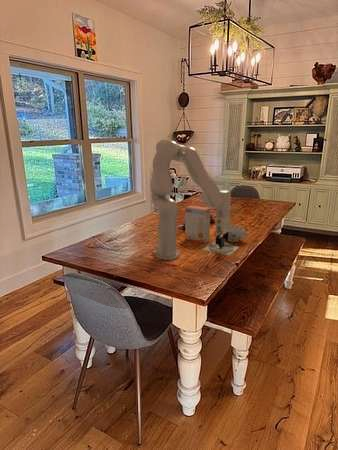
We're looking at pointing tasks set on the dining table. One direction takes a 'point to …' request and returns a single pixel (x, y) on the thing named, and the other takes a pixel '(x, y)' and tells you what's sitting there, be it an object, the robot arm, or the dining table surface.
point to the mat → (221, 253)
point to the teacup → (236, 233)
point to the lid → (221, 246)
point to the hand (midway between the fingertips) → (222, 241)
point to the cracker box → (197, 224)
